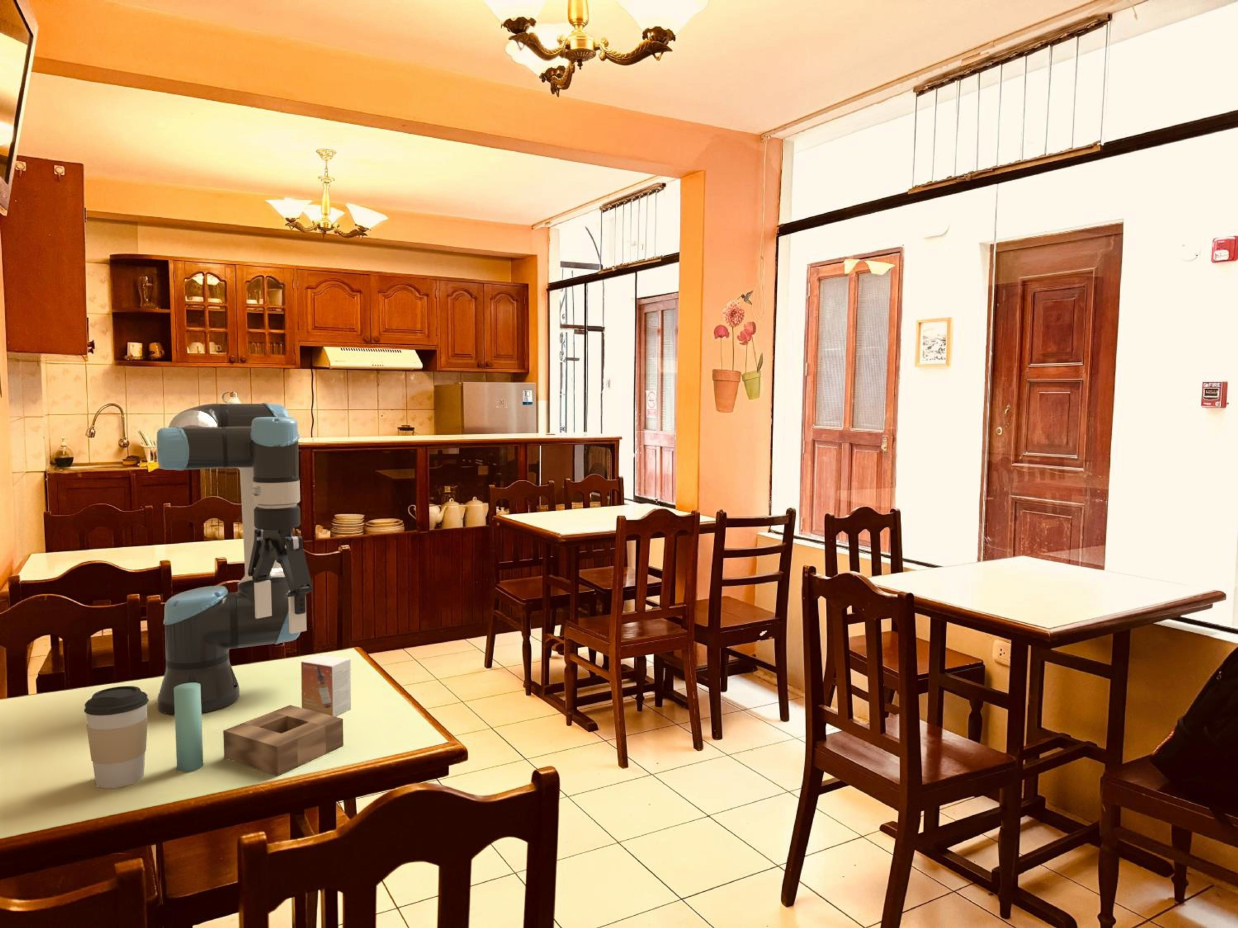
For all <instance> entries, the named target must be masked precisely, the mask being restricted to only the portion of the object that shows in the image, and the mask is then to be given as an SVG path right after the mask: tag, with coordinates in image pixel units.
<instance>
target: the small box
mask: <svg viewBox="0 0 1238 928" xmlns="http://www.w3.org/2000/svg"><path fill="white" fill-rule="evenodd" d="M351 664H352V663H351V658H348V657H347V658H343V657H337V656H329V655H325V654H317V655H315V656H313V657H310V658H307V659H305V660H302V661H301V663H300V669H301V671H300V672H301V673H300V674H301V680H300V681H301V683H300V684H301V689H300V690H301V693H300V694H301V708H304V709H308V710H312V711H315V712H319V713H323V714H327V715H331V716H334V717H337V716H339V715H341V714H344V713H346V712H347V711H349V710H350V709H352V693H351V692H352V689H351V688H352V687H351V686H352V684H351V683H352V682H351V679H352V678H351V675H352V673H351V670H352V668H351V666H352V665H351Z"/></svg>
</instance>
